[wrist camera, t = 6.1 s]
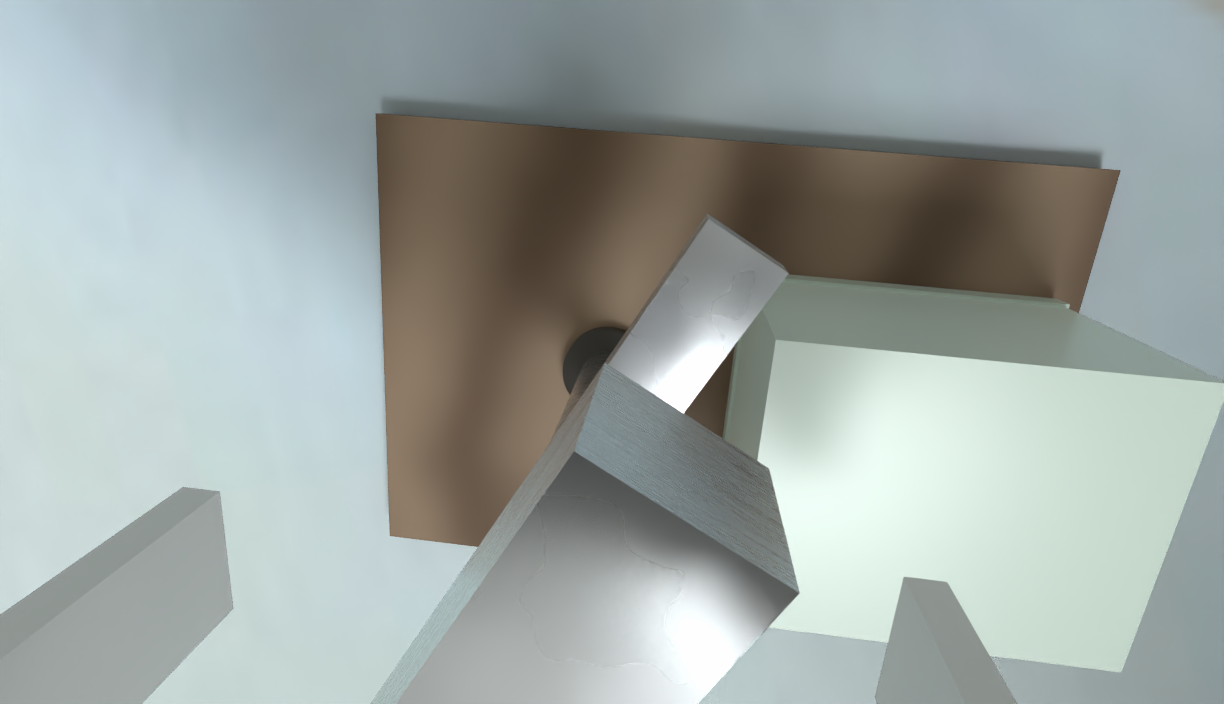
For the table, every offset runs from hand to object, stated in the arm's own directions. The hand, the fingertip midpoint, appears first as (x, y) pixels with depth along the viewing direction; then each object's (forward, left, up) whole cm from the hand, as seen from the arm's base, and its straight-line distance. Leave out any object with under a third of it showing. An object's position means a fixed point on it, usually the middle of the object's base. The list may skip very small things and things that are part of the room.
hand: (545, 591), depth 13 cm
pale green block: (-9, 0, -13) cm, 16 cm away
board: (-3, 0, -14) cm, 14 cm away
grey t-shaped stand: (0, -1, -12) cm, 12 cm away
